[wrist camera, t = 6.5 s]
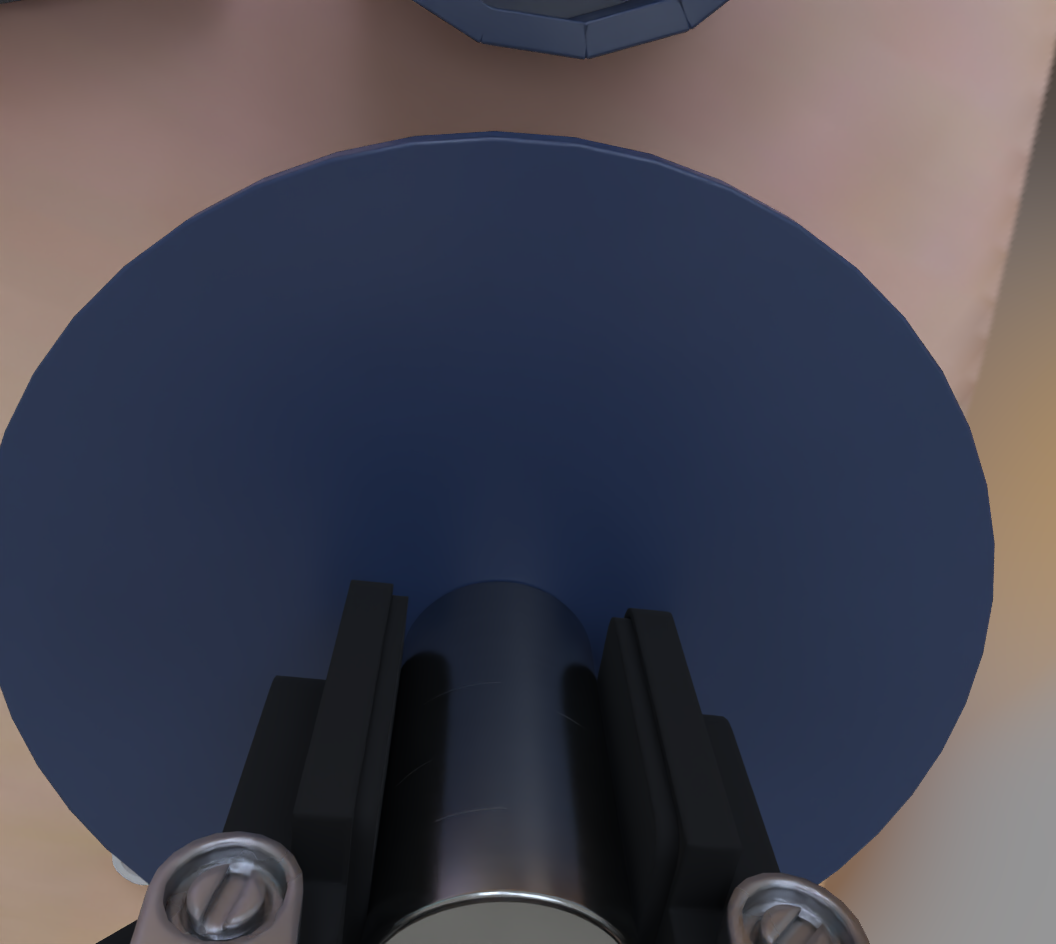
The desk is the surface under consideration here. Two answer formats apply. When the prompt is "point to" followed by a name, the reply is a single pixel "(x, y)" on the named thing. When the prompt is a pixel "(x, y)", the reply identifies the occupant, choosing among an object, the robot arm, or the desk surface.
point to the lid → (491, 515)
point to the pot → (571, 22)
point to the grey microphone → (6, 0)
